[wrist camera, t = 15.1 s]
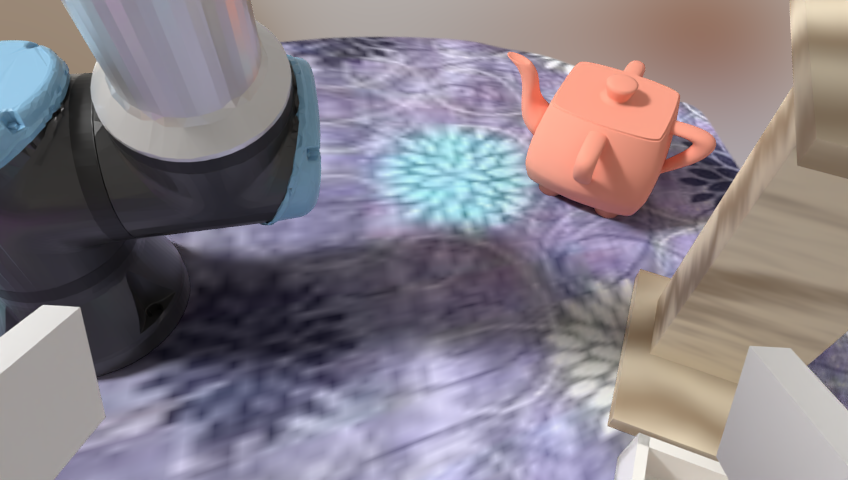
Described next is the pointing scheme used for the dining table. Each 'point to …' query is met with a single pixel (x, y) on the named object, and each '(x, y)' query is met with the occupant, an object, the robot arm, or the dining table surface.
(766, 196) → the wooden pedestal stand
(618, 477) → the tray
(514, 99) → the dining table surface
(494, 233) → the dining table surface
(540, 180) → the teapot
